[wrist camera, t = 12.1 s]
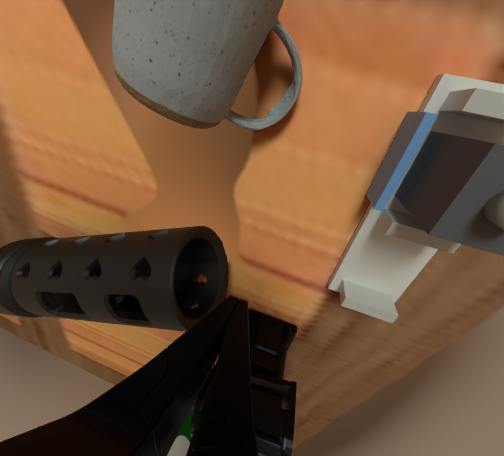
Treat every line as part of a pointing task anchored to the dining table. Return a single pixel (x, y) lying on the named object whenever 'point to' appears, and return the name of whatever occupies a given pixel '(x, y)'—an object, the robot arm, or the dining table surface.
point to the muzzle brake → (116, 277)
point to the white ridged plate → (390, 208)
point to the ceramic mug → (197, 56)
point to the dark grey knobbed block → (458, 191)
